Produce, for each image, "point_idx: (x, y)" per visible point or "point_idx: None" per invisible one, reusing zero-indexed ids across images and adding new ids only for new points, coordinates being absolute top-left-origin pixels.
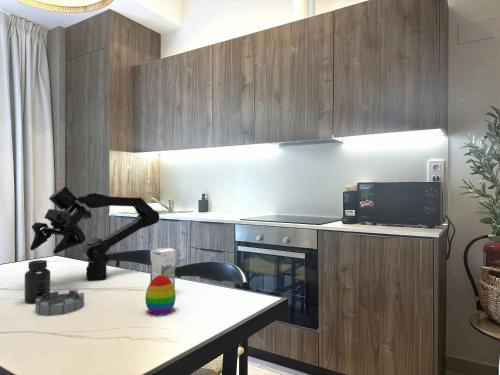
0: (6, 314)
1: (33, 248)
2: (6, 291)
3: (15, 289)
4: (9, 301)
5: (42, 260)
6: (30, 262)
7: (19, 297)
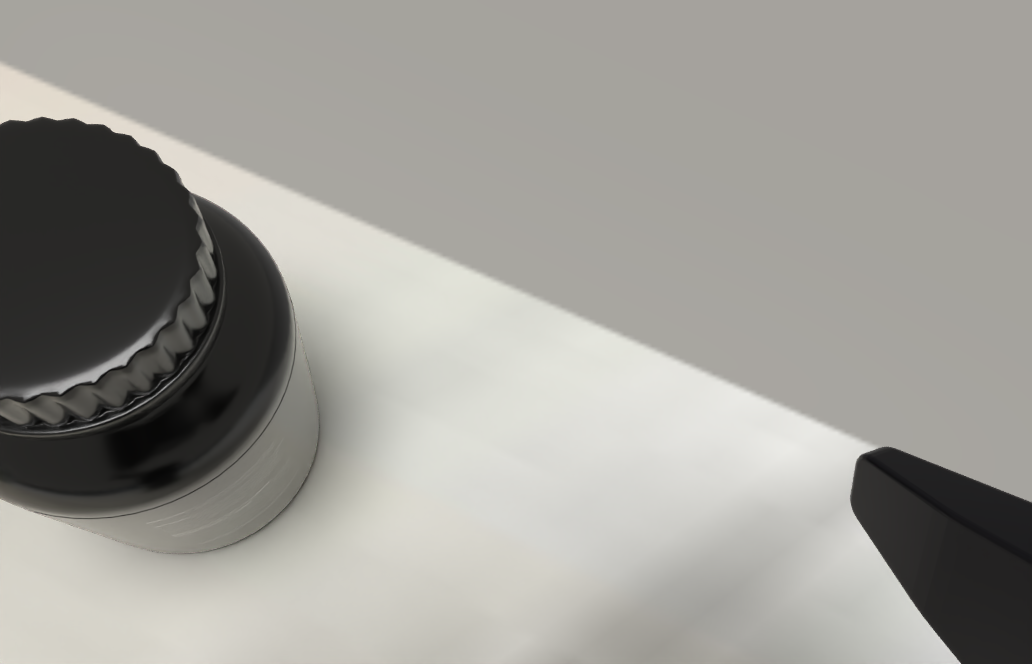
0: (62, 104)
1: (891, 533)
2: (799, 430)
3: (813, 514)
4: (423, 286)
5: (40, 352)
6: (87, 143)
7: (476, 394)
